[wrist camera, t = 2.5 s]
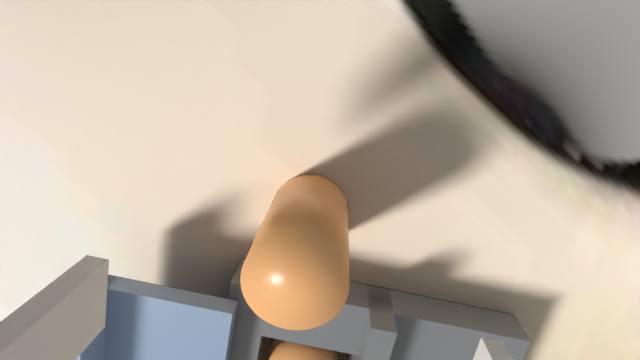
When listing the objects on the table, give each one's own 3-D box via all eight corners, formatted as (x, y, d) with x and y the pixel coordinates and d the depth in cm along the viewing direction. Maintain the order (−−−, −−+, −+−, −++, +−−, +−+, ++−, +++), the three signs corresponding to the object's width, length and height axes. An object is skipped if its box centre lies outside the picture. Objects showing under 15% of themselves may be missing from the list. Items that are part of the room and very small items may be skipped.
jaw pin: (279, 167, 24) (248, 223, 16) (355, 183, 24) (360, 246, 16) (267, 236, 25) (233, 318, 17) (339, 251, 25) (337, 339, 18)
